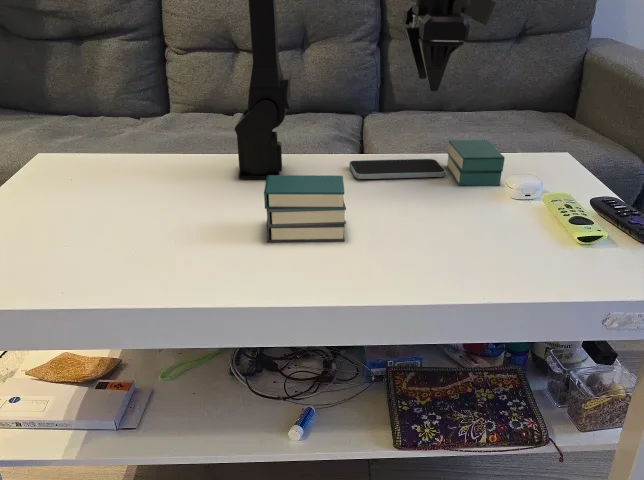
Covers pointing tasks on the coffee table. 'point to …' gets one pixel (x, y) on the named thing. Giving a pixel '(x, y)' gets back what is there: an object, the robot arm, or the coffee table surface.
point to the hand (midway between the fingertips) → (427, 84)
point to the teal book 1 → (304, 192)
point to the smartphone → (396, 168)
